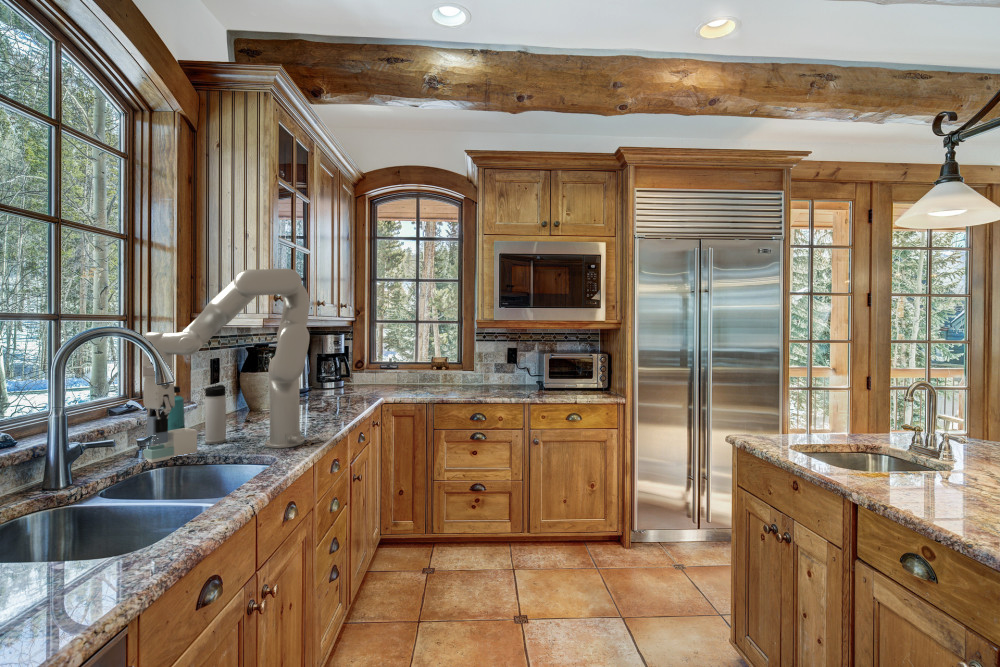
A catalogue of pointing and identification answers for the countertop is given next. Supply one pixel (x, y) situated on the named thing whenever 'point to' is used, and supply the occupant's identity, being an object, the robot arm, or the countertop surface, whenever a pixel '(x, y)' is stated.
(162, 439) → the grey rectangular block
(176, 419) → the beverage bottle
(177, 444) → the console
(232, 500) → the countertop surface
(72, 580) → the countertop surface
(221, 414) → the travel mug
